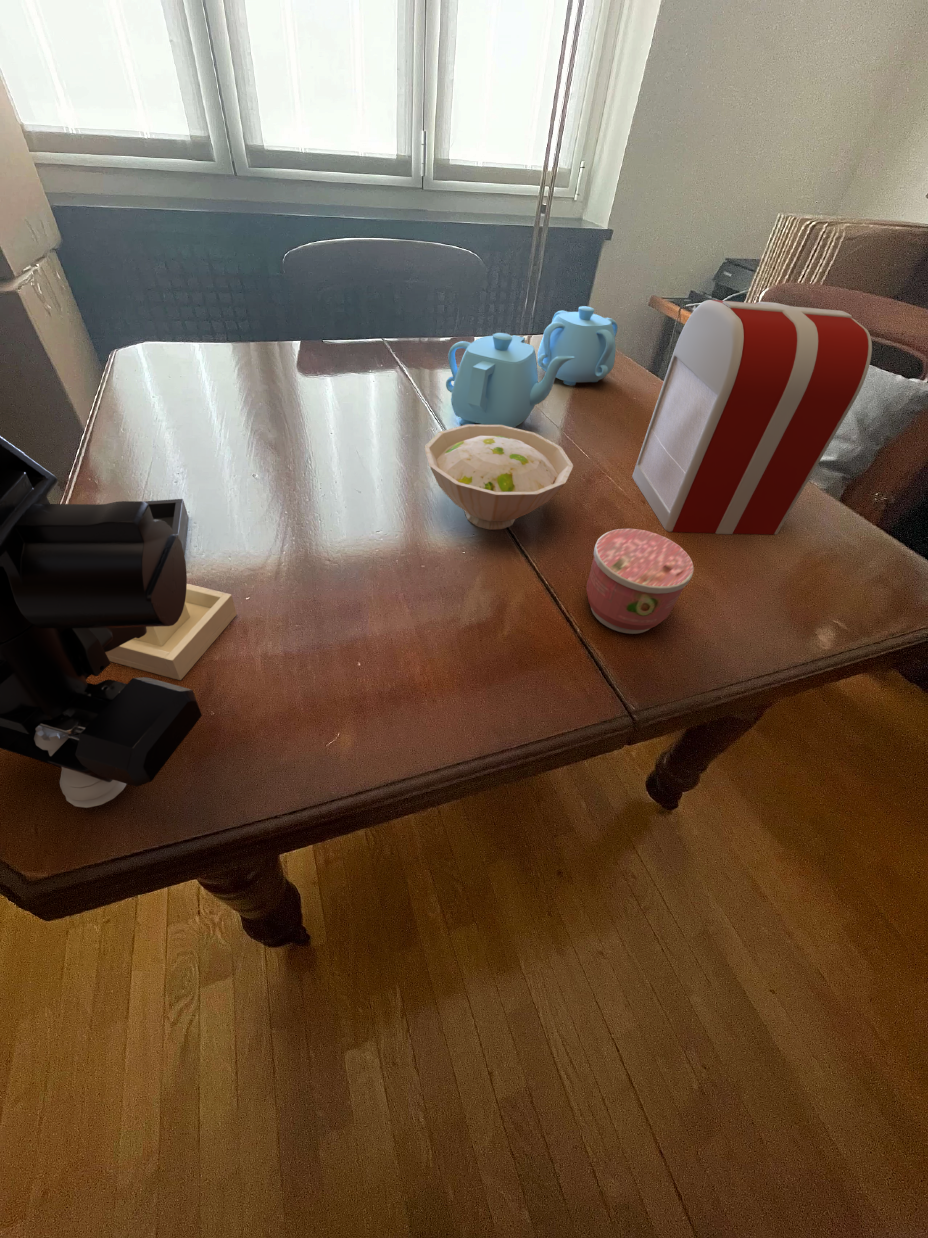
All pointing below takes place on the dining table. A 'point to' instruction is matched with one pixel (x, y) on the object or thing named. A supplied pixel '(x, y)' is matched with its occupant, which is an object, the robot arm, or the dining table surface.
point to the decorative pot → (579, 345)
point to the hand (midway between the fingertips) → (90, 769)
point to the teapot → (498, 380)
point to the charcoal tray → (171, 516)
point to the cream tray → (181, 636)
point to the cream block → (163, 631)
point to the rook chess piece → (77, 775)
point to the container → (636, 579)
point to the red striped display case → (748, 413)
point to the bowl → (497, 471)
